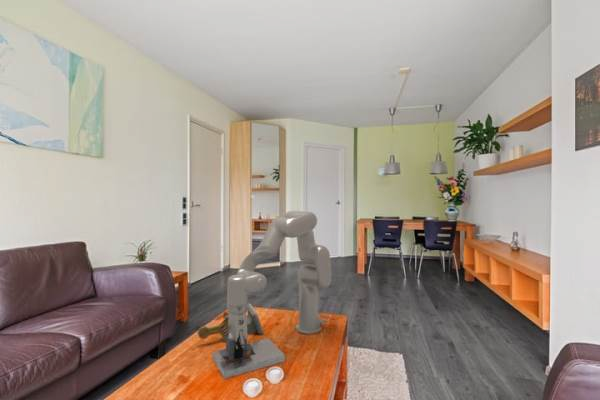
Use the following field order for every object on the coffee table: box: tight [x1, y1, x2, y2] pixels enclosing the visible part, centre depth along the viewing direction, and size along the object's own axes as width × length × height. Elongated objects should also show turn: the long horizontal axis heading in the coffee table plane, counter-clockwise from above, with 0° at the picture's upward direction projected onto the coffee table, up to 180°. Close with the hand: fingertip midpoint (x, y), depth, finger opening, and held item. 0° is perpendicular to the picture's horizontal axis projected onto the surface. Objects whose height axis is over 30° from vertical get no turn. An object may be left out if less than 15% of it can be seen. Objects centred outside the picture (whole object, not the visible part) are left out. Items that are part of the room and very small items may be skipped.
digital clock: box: [246, 302, 264, 335], centre depth 145 cm, size 16×9×11 cm, turn 11°
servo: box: [218, 333, 253, 364], centre depth 114 cm, size 12×4×10 cm, turn 120°
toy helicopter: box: [197, 310, 229, 343], centre depth 131 cm, size 8×21×14 cm, turn 122°
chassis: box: [212, 338, 286, 380], centre depth 117 cm, size 24×16×2 cm, turn 120°
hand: (236, 354), depth 114 cm, fingers closed on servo, 4 cm apart
